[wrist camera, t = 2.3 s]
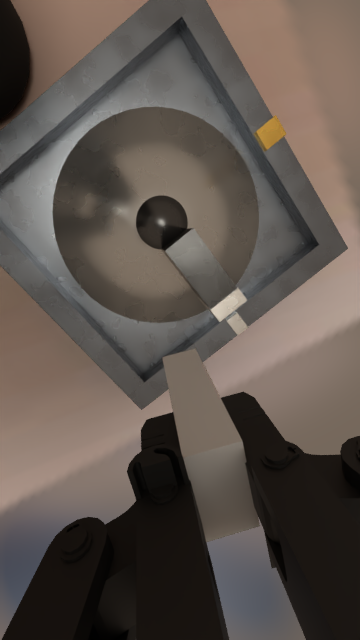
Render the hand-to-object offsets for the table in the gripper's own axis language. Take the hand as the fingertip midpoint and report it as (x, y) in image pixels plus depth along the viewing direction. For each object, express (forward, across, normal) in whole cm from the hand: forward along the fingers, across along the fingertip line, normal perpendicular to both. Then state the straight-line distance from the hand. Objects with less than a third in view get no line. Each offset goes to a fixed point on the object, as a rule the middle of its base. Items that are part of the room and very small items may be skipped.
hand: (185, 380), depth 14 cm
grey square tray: (+18, +2, +7) cm, 20 cm away
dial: (+16, +2, +7) cm, 17 cm away
